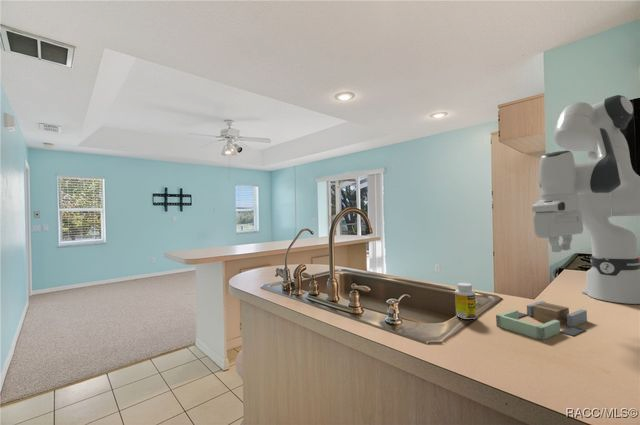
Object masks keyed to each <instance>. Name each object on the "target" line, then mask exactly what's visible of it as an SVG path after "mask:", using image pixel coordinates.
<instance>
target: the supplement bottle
mask: <svg viewBox="0 0 640 425" xmlns="http://www.w3.org/2000/svg"><path fill="white" fill-rule="evenodd" d="M456 288H457V289H455V291H454V299H455V302H454V303H455V316H456V317H457V316H458V317H461V318H472V319H474V320H476V318H477V309H476V308H477V307H476V306H477V305H476V292H475V291H474V290H473V286H472V284H471V283H469V282H468V283H467V282H458V283H457V287H456ZM458 317H457V318H458Z"/></svg>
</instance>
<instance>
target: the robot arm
mask: <svg viewBox="0 0 640 425" xmlns="http://www.w3.org/2000/svg"><path fill="white" fill-rule="evenodd" d="M633 116H634V106H633V103H632V102H631V100H630V99H628V98H627V97H626V96H624V95H620V94H616V95H613V96H610V97H607V98H605V99H604V100H601V101H598V102H596V103H594V104H591V105H590V104H589V103H586V102H581V101H579V102H578V101H577V102H573V103H571V104H569V105H567V106H566V107H565V108H564V109H563V110H562V111H561V112H560V114H559V116H558V118H557V121H556V123H555V126H554V130H553V138H554V142H555V143H556V144H557V146H559V147H560V148H562V149H565V150H561V151H560V150H559V151H554V152H553V151H552V152H548V153H545V154H542V155H541V156H540V159H539V167H538V184H539V187H540V194H539V200H538V201H537V202H535V203H534V204H532V206H531V211H532V213H534V214H533V228H534V234H535V236H536V237H537V238H540V239H541V238H542V239H548V242H549V244H550V246H551V252H552V253H553V252H554V253H560V252H562V251H570V250H571V244H572V242H573V241H572V240H573V235H579V234H583V231H584V227H585V229H586V231H587V232H588V234H589V239H590V244H591V245H590V246H591V254H592V255H591V256H590V260H589V261H590V265H591V267H590V269H588V270H587V271H586V287H585V288H582V290H581V293H583V294H585V295H588V296H589V297H590V298H593V299H596V300H601V301H606V302H609V303H610V302H611V303H618V304H630V305H631V304H633V305H637V304H638V305H640V256H639V257H638V242H637V236H636V234H635V233H634V232H633V231H631V230H629V229H628V228H624V227H622V226H619V225H615V224H613V223H611V221H610V220H609V218H612V217H640V175H639V174H637V173H636V172H635V170H634V169H633V166H632V162H631V157H630V155H631V154H630V148H629V144H628V141H627V139H626V137H625V135H624V134H623V132H621V130H625V129H626V128H627V127H628V125H629V123H630V121H631V120H632V118H633ZM572 151H573V152H578V151H579V152H580V151H581V152H583V151H585V152H588V153H587V161H580V162H575V158H574V155H573V154H574V153H573V152H572ZM560 237H561V239H562V244H560V243H559V242H560Z"/></svg>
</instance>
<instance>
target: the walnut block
mask: <svg viewBox="0 0 640 425" xmlns="http://www.w3.org/2000/svg"><path fill="white" fill-rule="evenodd" d="M533 309H534V316H533V320H537V321H541V322H544V323H547V322H549V321H552V320H558V321H560V325H562V323H563V324H566V323H567V315H568V314H570V307H567V306H563V305H558V304H554V303H550V302H546V303H542V304H538V305H535V306H533ZM565 322H566V323H565Z"/></svg>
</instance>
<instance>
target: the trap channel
mask: <svg viewBox="0 0 640 425" xmlns="http://www.w3.org/2000/svg"><path fill="white" fill-rule="evenodd" d="M542 303H547V302H546V301H543V300H540V301H536V302H533V303H530V304H527V305H526V313H524V312H520V311H519V310H517V309H511V310H508V311H505V312H502V313H498V314H496V315H495V321H496V322H495V323H496V327H499V328H502V329H505V330H508V331H511V332H515V333H518V334H521V335H525V336H528V337H530V338H534V339H537V340H540V341H543V340H546V339H549V338H551V337H553V335H554V336H556V335H558V334H563V333H565V334H564V335H567V334H569V335H568V336H570V335H573V336H572V337H575V336H577V335H579V333H580V334H581V332H582V333H584V332H586V331H587V330H586V328H582V327H579V325H581V324H584V323H586V322H588V316H587V315H588V313H587V309H583V308H582V309H581V308H580V309H578V310H576V311H573V312H571V313H570V312H569V314H568V315H567V322H566V324H567V328H566V329H563V330H561V324H560V321H558V320H552V321H549V322H544V323H542V324H539V325H538V324H534V323H531V322H528V321H524V320H520V319H521V318H523V317H534V309H533V306H535V305H538V304H542ZM577 326H578V327H577ZM560 332H561V333H560ZM576 334H577V335H576ZM574 335H575V336H574Z"/></svg>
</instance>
